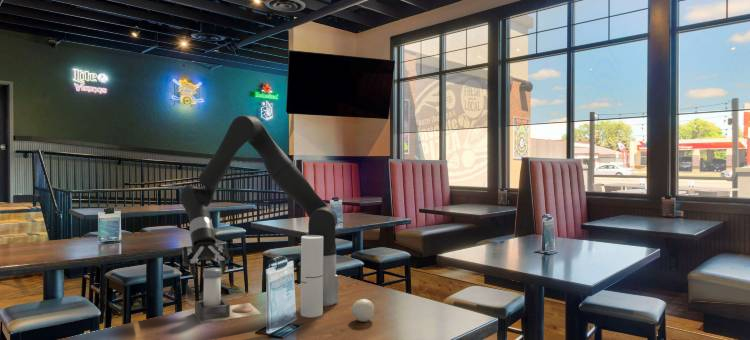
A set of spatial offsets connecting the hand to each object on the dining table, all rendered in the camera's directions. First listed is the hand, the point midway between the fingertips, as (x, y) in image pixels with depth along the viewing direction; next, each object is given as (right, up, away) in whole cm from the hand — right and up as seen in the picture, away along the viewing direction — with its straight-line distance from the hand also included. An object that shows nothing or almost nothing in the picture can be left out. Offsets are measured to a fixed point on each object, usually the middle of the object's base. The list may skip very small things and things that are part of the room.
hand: (209, 274), depth 147 cm
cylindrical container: (+32, -14, +2) cm, 35 cm away
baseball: (+49, -14, -4) cm, 51 cm away
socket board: (+6, -13, -2) cm, 15 cm away
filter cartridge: (+2, -12, -4) cm, 13 cm away
